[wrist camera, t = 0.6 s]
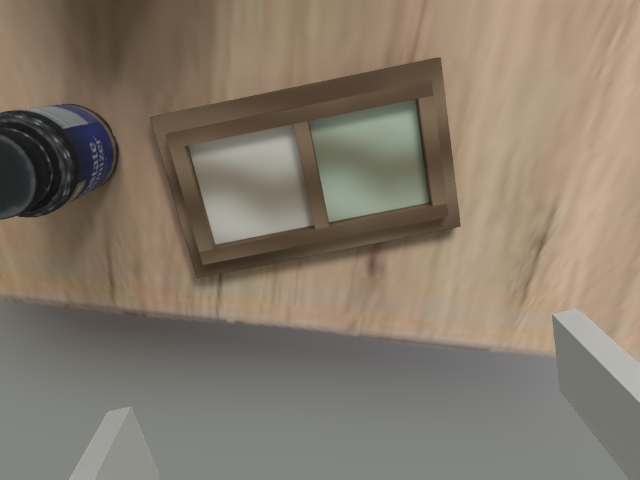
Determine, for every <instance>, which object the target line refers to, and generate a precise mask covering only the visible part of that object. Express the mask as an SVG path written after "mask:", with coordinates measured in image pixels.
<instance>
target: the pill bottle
mask: <svg viewBox="0 0 640 480" xmlns="http://www.w3.org/2000/svg"><path fill="white" fill-rule="evenodd" d="M117 161H118V145H117V141H116V139H115V137H114V136H113V135H112V130H111V128H110V126H109V125H108V124H107V122H106V121H105V120H104V119H103V118H102V117H101V116H99V115H98V114H97V113H95V112H94V111H92V110H89V109H87V108H85V107H82V106H79V105H75V104H62V105H55V106H47V107H39V108H31V109H23V110H16V111H7V112H2V113H0V219H7V218H11V217H14V216H19V217H38V216H42V215H46V214H48V213H51V212H53V211H55V210H57V209H58V208H60V207H62V206H64V205H66V204H68V203H69V202H71V201H73V200H75V199H77V198H79V197H81V196H83V195H84V194H86V193H88V192H90V191H92V190H93V189H95V188H97V187H100V186H101V185H103V184H104V183H105V182H106V181H107V180H108V179H109V178H110V177H111V175H112V173H113V172H114V170H115V168H116V165H117Z"/></svg>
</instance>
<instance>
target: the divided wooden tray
mask: <svg viewBox="0 0 640 480" xmlns="http://www.w3.org/2000/svg"><path fill="white" fill-rule="evenodd" d="M150 120H151V123H152V127H153V130H154V133H155V137H156V140H157V144H158V147H159V151H160V154H161V157H162V161H163V164H164V168H165V171H166V175H167V178H168V181H169V185H170V188H171V192H172V195H173V199H174V202H175V205H176V209H177V212H178V216H179V219H180V223H181V226H182V229H183V233H184V236H185V240H186V243H187V247H188V250H189V253H190V257H191V260H192V264H193V267H194V271H195V274H196V277H197V278H200V277H205V276H210V275H215V274H220V273H225V272H230V271H235V270H241V269H246V268H251V267H256V266H261V265H266V264H271V263H276V262H282V261H287V260H292V259H297V258H302V257H307V256H312V255H317V254H322V253H328V252H333V251H338V250H343V249H348V248H353V247H358V246H363V245H369V244H374V243H379V242H384V241H389V240H394V239H399V238H404V237H410V236H415V235H420V234H425V233H430V232H435V231H440V230H445V229H451V228H456V227H461V225H460V217H459V209H458V200H457V192H456V183H455V175H454V167H453V158H452V150H451V141H450V133H449V125H448V116H447V108H446V100H445V91H444V83H443V74H442V66H441V58H433V59H429V60H424V61H419V62H414V63H409V64H404V65H400V66H395V67H390V68H385V69H380V70H375V71H371V72H366V73H361V74H356V75H351V76H346V77H342V78H337V79H332V80H327V81H322V82H317V83H312V84H308V85H303V86H298V87H293V88H288V89H283V90H279V91H274V92H269V93H264V94H259V95H254V96H250V97H245V98H240V99H235V100H230V101H225V102H221V103H216V104H211V105H206V106H201V107H196V108H192V109H187V110H182V111H177V112H172V113H167V114H163V115H158V116H154V117H150Z"/></svg>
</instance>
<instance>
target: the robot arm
mask: <svg viewBox="0 0 640 480" xmlns="http://www.w3.org/2000/svg"><path fill="white" fill-rule="evenodd" d="M552 318H553V328H554V338H555V347H556V357H557V366H558V376H559V385H560V391H561V393H562V394H563V395H564V397H565V398H566V399H567V400H568V402H569V403H570V404H571V406H572V407H573V408H574V410H575V411H576V412H577V413H578V415H579V416H580V417H581V418H582V420H583V421H584V422H585V423H586V425H587V426H588V427H589V429H590V430H591V431H592V433H593V434H594V435H595V436H596V438H597V439H598V440H599V442H600V443H601V444H602V445H603V447H604V448H605V449H606V450H607V452H608V453H609V454H610V456H611V457H612V458H613V460H614V461H615V462H616V463H617V465H618V466H619V467H620V468H621V470H622V471H623V472H624V474H625V475H626V476H627V477H628V479H629V480H640V364H639V363H638V362H637V361H636V360H635V359H634V358H632V357H631V356H630V355H629V354H628V353H627V352H626V351H625V350H623V349H622V348H621V347H620V346H619V345H618V344H617V343H616V342H615V341H613V340H612V339H611V338H610V337H609V336H608V335H607V334H606V333H605V332H603V331H602V330H601V329H600V328H599V327H598V326H597V325H596V324H594V323H593V322H592V321H591V320H590V319H589V318H588V317H587V316H586V315H584V314H583V313H582V312H581V311H580V310H579V309H578V308H577V309H573V310H568V311H563V312H559V313H554V314H552ZM159 477H160V475H159V473H158V470H157V468H156V465H155V463H154V460H153V458H152V455H151V453H150V451H149V448H148V446H147V443H146V441H145V438H144V437H143V434H142V431H141V429H140V426H139V424H138V422H137V420H136V417H135V414H134V412H133V410H132V407H126V408H122V409H117V410H112V411H108V412H107V414H106V415H105V417H104V419H103V421H102V422H101V424H100V426H99V428H98V429H97V431H96V433H95V435H94V437H93V438H92V440H91V442H90V444H89V445H88V447H87V449H86V451H85V453H84V454H83V456H82V458H81V460H80V461H79V463H78V465H77V466H76V468H75V470H74V472H73V474H72V475H71V477H70V479H69V480H159Z"/></svg>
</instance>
